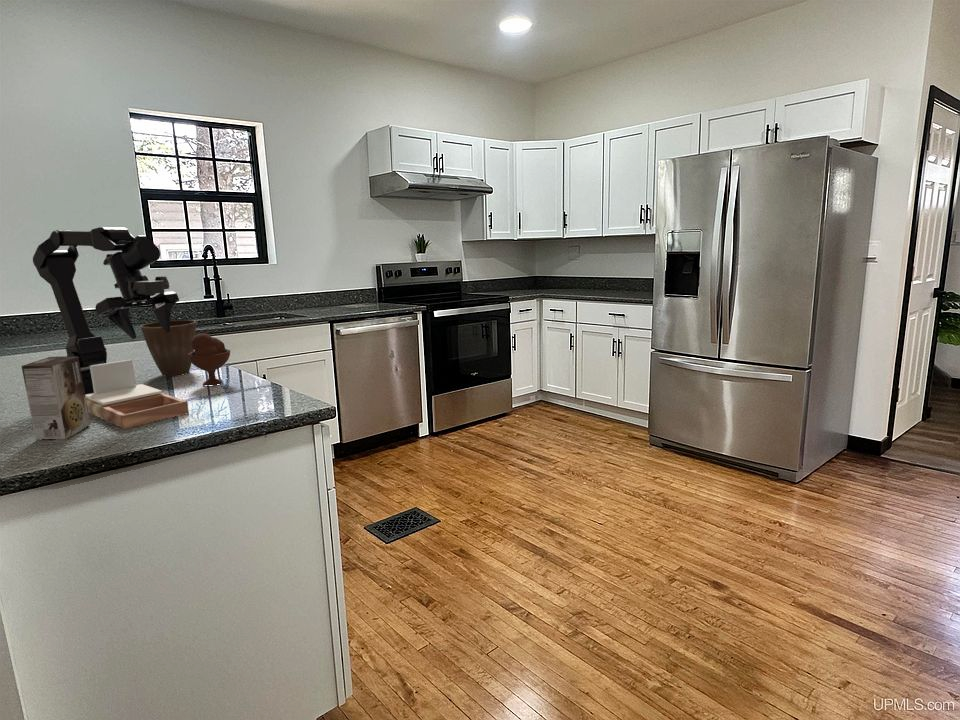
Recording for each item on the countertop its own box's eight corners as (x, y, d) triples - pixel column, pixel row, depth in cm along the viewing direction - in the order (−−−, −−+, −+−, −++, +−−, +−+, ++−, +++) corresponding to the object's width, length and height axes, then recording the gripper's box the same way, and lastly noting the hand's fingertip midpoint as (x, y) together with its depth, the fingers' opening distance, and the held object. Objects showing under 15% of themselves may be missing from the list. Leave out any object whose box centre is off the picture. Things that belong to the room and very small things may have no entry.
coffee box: (61, 426, 127) (49, 356, 123) (92, 425, 127) (80, 355, 124) (33, 440, 118) (19, 365, 114) (66, 439, 118) (52, 364, 115)
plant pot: (159, 382, 167) (151, 328, 163) (140, 375, 176) (132, 324, 173) (210, 372, 178) (204, 322, 174) (189, 366, 187) (183, 318, 184)
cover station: (84, 410, 139) (82, 399, 138) (145, 397, 149) (144, 386, 149) (124, 429, 124) (122, 416, 123) (188, 413, 135) (187, 401, 134)
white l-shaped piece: (84, 397, 138) (79, 367, 137) (141, 386, 148) (137, 357, 147) (103, 405, 131) (98, 373, 129) (162, 393, 141) (158, 363, 139)
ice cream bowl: (218, 389, 156) (211, 336, 153) (182, 388, 159) (176, 335, 156) (241, 380, 167) (235, 330, 164) (207, 379, 169) (201, 329, 166)
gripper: (110, 266, 128) (136, 331, 129) (181, 263, 145) (203, 320, 146) (83, 283, 133) (108, 345, 134) (154, 277, 150) (176, 333, 151)
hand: (151, 335), depth 141 cm, fingers open, 9 cm apart
